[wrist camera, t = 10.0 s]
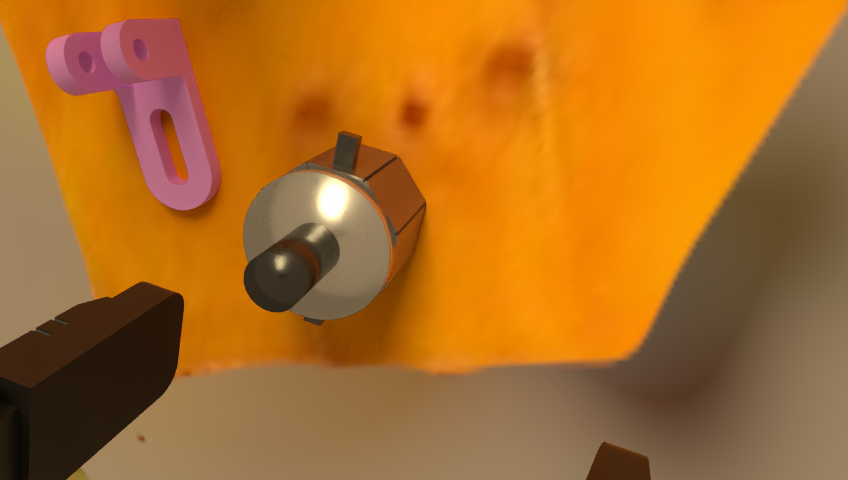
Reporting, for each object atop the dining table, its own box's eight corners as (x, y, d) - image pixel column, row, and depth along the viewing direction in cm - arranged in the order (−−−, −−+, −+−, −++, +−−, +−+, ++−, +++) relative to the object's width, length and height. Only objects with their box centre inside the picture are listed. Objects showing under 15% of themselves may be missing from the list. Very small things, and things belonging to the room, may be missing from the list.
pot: (316, 102, 46) (269, 117, 39) (442, 139, 44) (415, 161, 38) (287, 270, 50) (241, 308, 44) (400, 307, 49) (370, 352, 43)
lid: (261, 150, 40) (199, 176, 34) (408, 191, 39) (371, 226, 32) (244, 287, 43) (184, 333, 37) (379, 329, 42) (340, 385, 36)
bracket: (112, 34, 48) (37, 38, 42) (179, 18, 46) (111, 19, 40) (166, 209, 51) (105, 237, 45) (230, 200, 50) (175, 227, 43)
